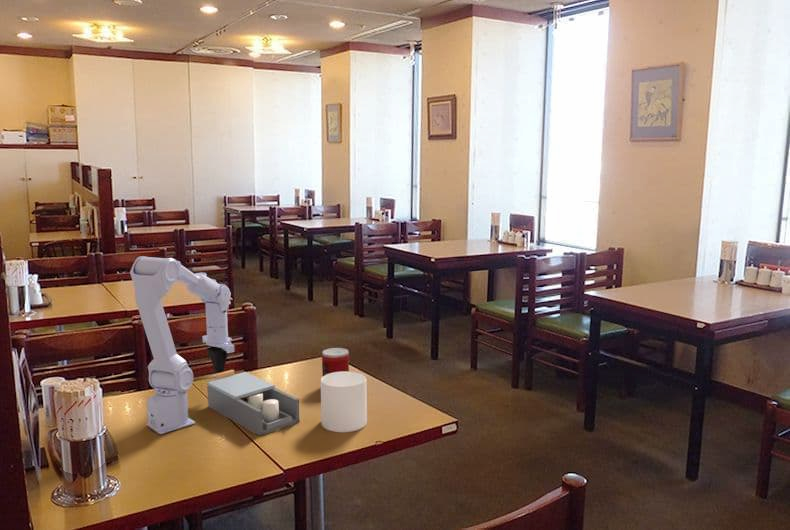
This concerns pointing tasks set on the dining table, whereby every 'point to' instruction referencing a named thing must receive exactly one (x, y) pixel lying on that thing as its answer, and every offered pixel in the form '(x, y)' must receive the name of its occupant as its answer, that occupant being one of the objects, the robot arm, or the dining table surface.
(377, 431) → the dining table surface
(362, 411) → the white cylinder
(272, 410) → the white rounded cylinder
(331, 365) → the canned food
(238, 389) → the lid
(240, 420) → the housing
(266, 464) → the dining table surface
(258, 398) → the white rounded tapered block
